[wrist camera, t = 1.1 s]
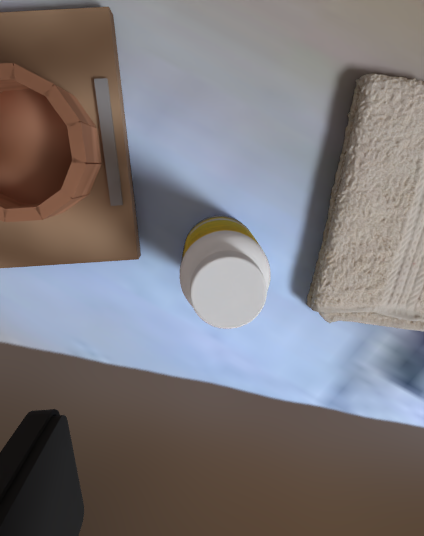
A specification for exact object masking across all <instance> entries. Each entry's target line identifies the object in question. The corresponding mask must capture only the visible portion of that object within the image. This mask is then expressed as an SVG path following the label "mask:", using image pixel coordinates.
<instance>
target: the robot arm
mask: <svg viewBox="0 0 424 536" xmlns="http://www.w3.org/2000/svg"><path fill="white" fill-rule="evenodd" d="M83 516H84V505H83V499H82V494H81V489H80V484H79V479H78V474H77V468H76V463H75V458H74V453H73V447H72V442H71V437H70V432H69V427H68V421H67V418H66V416H64V415H60V414H59V412H58V411H57V410H55V409H53V410H39V411H31V412H29V413H28V414H27V415H26V417H25V418H24V419H23V421H22V422H21V424H20V425H19V426H18V428H17V429H16V431H15V432H14V434H13V435H12V437H11V438H10V439H9V441H8V442H7V444H6V445H5V447H4V448H3V449H2V451H1V452H0V536H78V535H79V532H80V529H81V526H82V522H83Z"/></svg>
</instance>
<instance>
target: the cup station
mask: <svg viewBox="0 0 424 536" xmlns="http://www.w3.org/2000/svg"><path fill="white" fill-rule="evenodd" d="M140 256H141V253H140V244H139V236H138V227H137V218H136V210H135V201H134V192H133V184H132V175H131V166H130V158H129V149H128V140H127V132H126V123H125V114H124V106H123V97H122V88H121V80H120V71H119V62H118V54H117V45H116V36H115V28H114V19H113V14H112V12H111V10H110V8H109V7H95V8H76V9H57V10H37V11H18V12H0V268H12V267H27V266H42V265H57V264H73V263H88V262H103V261H118V260H134V259H139V257H140Z"/></svg>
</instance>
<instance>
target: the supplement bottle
mask: <svg viewBox="0 0 424 536" xmlns="http://www.w3.org/2000/svg"><path fill="white" fill-rule="evenodd" d="M180 284H181V288H182V291H183V293H184V295H185V297H186V299H187V300H188V302H189V303H190V304H191V305H192V306H193V308H194V310H195V312H196V313H197V315H198V316H199V317H200V318H201V319H202V320H203V321H205V322H206V323H208V324H210V325H212V326H214V327H218V328H223V329H231V328H237V327H241V326H243V325H246V324H247V323H249V322H251V321H252V320H253V319H254V318H256V316H257V315H258V314H259V313H260V312H261V310H262V308H263V306H264V304H265V301H266V296H267V290H268V287H269V284H270V266H269V262H268V259H267V257H266V255H265V253H264V252H263V250H262V248H261V247H260V245H259V244H258V242H257V241H256V239H255V238H254V237H253V235H252V234H251V232H250V231H249V230H248V228H247V227H246V226H245V225H243V224H242V223H241V222H239V221H238V220H236V219H234V218H231V217H228V216H213V217H209V218H206V219H204V220H202V221H201V222H199V223H198V224H196V225H195V226H194V227H193V228H192V230H191V231H190V232H189V234H188V236H187V238H186V241H185V245H184V250H183V255H182V261H181V265H180Z"/></svg>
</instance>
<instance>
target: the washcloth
mask: <svg viewBox="0 0 424 536" xmlns="http://www.w3.org/2000/svg"><path fill="white" fill-rule="evenodd" d="M356 83H357V85H356V88H355V90H354V95H353V103H352V106H351V108H350V113H349V114H348V115H347V116H348V118H349V122H348V126H347V127H346V129H345V139H344V144H343V150H342V153H341V156H340V162H339V163H338V170H337V172H336V174H335V184H334V186H333V188H332V192H331V196H332V197H331V200H330V207H329V208H328V210H329V211H328V220H327V222H326V226H325V230H324V232H323V242H322V246H321V249H320V251H319V258H318V260H317V262H316V267H315V272H314V276H313V281H312V283H311V285H310V291H309V294H308V296H307V305H308V306H309V307H310V308H311V309H312V310H314V311H317V312H319V314H320V315H321V316H322V317H323V318H324V319H325V320H326V321H327V322H329V323H331V322H335V321H352V322H359V323H364V324H372V325H379V326H386V327H395V328H401V329H409V330H416V331H424V81H421V80H416V79H415V78H414V79H407V78H406V77H391V76H386V75H378V74H375V73H372V74H367V75H363V76H362V77H361V78H360V79H357V80H356Z"/></svg>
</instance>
